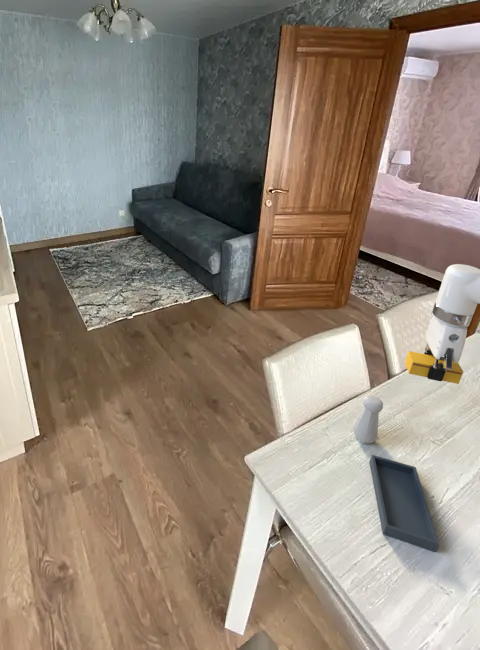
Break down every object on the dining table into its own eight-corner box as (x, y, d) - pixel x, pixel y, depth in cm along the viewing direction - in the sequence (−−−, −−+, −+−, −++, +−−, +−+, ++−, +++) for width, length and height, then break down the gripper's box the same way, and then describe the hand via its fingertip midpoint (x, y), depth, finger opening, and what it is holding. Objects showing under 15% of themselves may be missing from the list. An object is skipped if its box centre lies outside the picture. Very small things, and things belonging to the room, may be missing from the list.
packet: (452, 372, 91) (456, 360, 90) (458, 384, 87) (463, 371, 86) (404, 362, 95) (408, 350, 93) (408, 373, 91) (412, 361, 89)
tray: (412, 474, 81) (415, 466, 80) (435, 552, 67) (439, 544, 66) (369, 461, 84) (371, 454, 83) (382, 534, 69) (385, 526, 69)
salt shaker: (378, 436, 90) (390, 399, 85) (372, 451, 86) (384, 413, 81) (354, 423, 94) (364, 387, 89) (347, 437, 90) (358, 400, 85)
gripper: (486, 337, 76) (460, 400, 82) (456, 299, 90) (437, 355, 97) (445, 330, 78) (423, 391, 85) (423, 294, 93) (406, 349, 100)
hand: (431, 371), depth 91 cm, fingers closed on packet, 4 cm apart
